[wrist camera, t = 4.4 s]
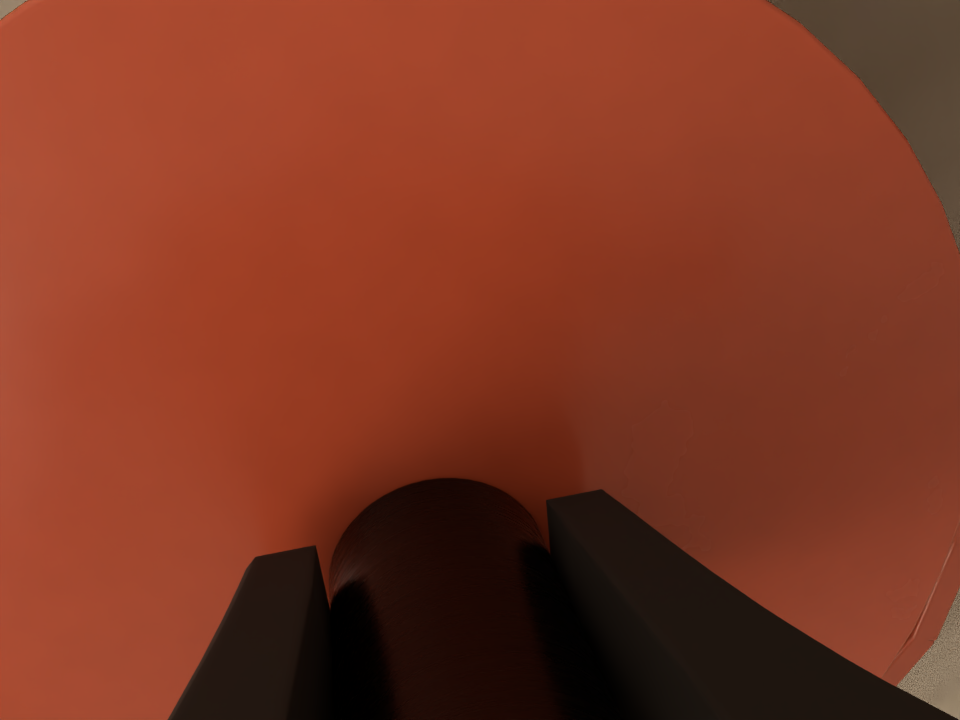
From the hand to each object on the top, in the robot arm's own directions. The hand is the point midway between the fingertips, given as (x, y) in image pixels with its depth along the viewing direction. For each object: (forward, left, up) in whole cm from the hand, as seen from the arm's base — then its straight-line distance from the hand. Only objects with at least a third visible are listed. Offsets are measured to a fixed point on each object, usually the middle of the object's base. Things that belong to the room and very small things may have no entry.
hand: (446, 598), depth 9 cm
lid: (0, 0, -1) cm, 1 cm away
